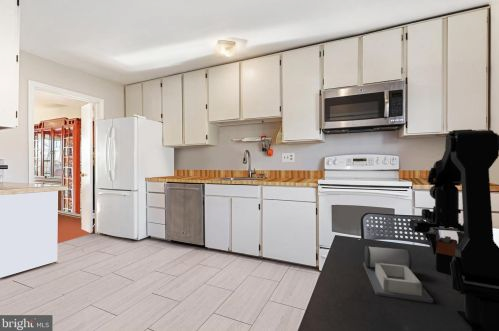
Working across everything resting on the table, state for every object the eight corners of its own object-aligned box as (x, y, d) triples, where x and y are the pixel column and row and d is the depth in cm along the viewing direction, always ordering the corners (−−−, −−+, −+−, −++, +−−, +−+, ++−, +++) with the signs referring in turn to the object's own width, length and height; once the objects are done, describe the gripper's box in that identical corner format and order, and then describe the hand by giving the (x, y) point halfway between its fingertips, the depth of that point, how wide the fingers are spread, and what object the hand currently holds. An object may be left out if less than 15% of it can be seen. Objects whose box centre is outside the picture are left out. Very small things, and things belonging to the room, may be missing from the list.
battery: (435, 271, 76) (435, 238, 76) (440, 265, 80) (440, 234, 80) (453, 275, 72) (453, 241, 72) (457, 269, 77) (457, 236, 77)
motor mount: (433, 303, 58) (433, 273, 58) (376, 296, 61) (376, 267, 61) (405, 269, 77) (405, 246, 77) (363, 264, 80) (363, 243, 80)
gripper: (468, 202, 81) (468, 249, 81) (403, 200, 87) (403, 244, 87) (490, 207, 71) (490, 262, 71) (415, 204, 76) (415, 255, 76)
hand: (446, 255), depth 76 cm, fingers closed on battery, 6 cm apart
